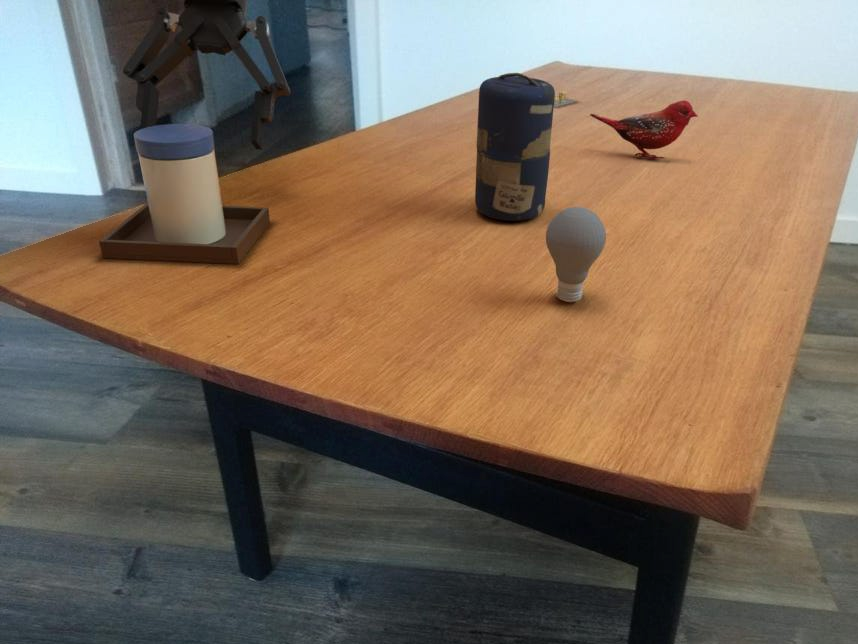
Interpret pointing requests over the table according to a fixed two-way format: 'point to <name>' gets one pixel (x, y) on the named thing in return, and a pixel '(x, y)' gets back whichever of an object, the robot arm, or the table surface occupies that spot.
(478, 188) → the canister
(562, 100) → the dice set
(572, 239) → the light bulb
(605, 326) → the table surface
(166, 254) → the tray
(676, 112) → the decorative bird figurine
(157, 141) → the jar lid
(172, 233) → the jar
